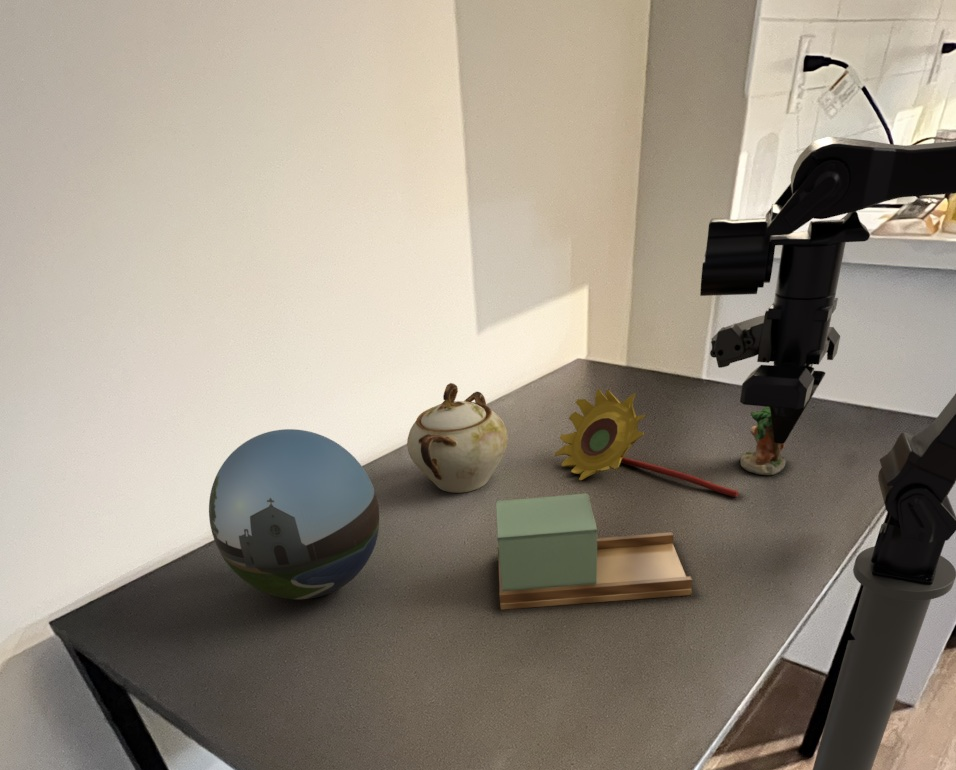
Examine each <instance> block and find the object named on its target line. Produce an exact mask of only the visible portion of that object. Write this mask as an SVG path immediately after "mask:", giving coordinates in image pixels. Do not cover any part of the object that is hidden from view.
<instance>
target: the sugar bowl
mask: <svg viewBox="0 0 956 770" xmlns="http://www.w3.org/2000/svg"><path fill="white" fill-rule="evenodd" d="M458 389H459V388H458V386H457V385H456V384H455V383H453V382H450V383H448V384H447V385H446V386H445V389H444V391H443V396H442V398H443V402H442V403H440V404H438V405H437V404H436V405H435V406H432V407H430V408H428V409H426V410H423V411H422V412H421V413H420V414H419V415H418V416H417V418H416V420H415V421H414V423H413V424H412V426H411V427H410V429H409V432H408V436H407V440H406V447H407V452H408V455H409V457H410V459H411V461H412V462H413V464H414V465H415V466H416V467H417V469H419V470H420V472H421V473H422V474H423V475H424V476H426V477H427V478H428V479H429V480H430V481H431V482H432V483H433V484H434V485H436V487H437V488H438V489H440V490H441V491H444V492H447V493H453V494H454V493H457V494H459V493H468V492H469V493H470V492H472V491H475V490H478V489H480V488H482V487H484V486H485V485H486V484H487V483H488V482H489V480H490V478H491V477H492V475H493V474H494V472H495V471H496V469H497V467H498V466H499V464H500V462H501V461H502V458H503V456H504V455H505V452H506V449H507V446H508V440H509V439H508V438H509V436H508V430H507V427H506V425H505V422H504V421H503V419H502V418H501V417H500V416H499V415H498V414H497V413H496V412H495V411H493V410H492V409H491V408H490V407H489V406H488V405H487V401H486V398H485V396H484V394H483V392H481V391H474V392H473V393H471V394H470V395H469V396H468V397H467V398H466V399H464V400H456V398H457V395H458V392H459V390H458ZM473 401H474V402H473Z"/></svg>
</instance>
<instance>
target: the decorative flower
mask: <svg viewBox="0 0 956 770" xmlns="http://www.w3.org/2000/svg"><path fill="white" fill-rule="evenodd" d="M636 395H637V393H635V392H634V393H633V394H631V395H630V396H628V397H627V398H626V399H625V400H623V401H619V399H618V398H617V397H616V396H615V395H614V394H613V393H612V392H611V391H610V390H609V389H607V390H605V394H603V392H602V390H600V389H597V390H595V396H594V405H593V403H591V402H590V401H588V400H587V399H586V398H578V399H576V401H575V404H576V405H577V406H578V407H579V409H580V412H581V413H582V414H580V413H578V412H577V411H574V412H572V413H571V414H570V415H569V417H568V420H570V422H571V423H572V425H573V426H574V428H575V431H574V432H571V433H567V434H563V433H562V434H560V435H559V439H560V440H561V441H562V442H563V443H565V445H563V446H562V447H561V448H559V449H558V450H556V451H555V452H554V457H557V456H563V455H565V456H567V457H566V458H565V459H564V460H563V461H562V463H561V464H560V465H561V467H573V468H572V469H571V471H570V472H571V473H572V474H574V475H575V474H577V475H580V477H579V478H578V481H583V480H585V479H586V478H588V477H590V476H592V475H594V474H598V473H600V472H604V471H607V470H609V469H613V470H617V469H618V468H619V467H620V465H621V463H622V464H624V465H628V466H631V467H636V468H639V469H643V470H647V471H651V472H654V473H658V474H661V475H665V476H668V477H672V478H675V479H678V480H682V481H685V482H688V483H691V484H695V485H698V486H700V487H702V488H705V489H708V490H710V491H713V492H715V493H719V494H722V495H725V496H729V497H732V498H737V497H739V494H740V493H739V491H738V490H735V489H732V488H729V487H725V486H722V485H718V484H716V483H713V482H711V481H708V480H705V479H703V478H700V477H697V476H694V475H691V474H688V473H684V472H681V471H677V470H673V469H671V468H666V467H663V466H659V465H657V464H656V465H655V464H651V463H648V462H645V461H641V460H637V459H632V458H629V457H625V455H626V454H627V453H628V451H629V450H630V449H631V447H632V446H633V445H634V444H635V443H636V442H637V441H638V440H639V439H641V438H642V437H644V434H645V431H639V430H638V427H639V422H640V421H642V419H644V418H645V417H646V416H647V414H641V415H640V414H639V415H637V414H636V410H635V408H634V406H633V405H634V399H635V398H636Z"/></svg>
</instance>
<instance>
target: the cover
mask: <svg viewBox="0 0 956 770" xmlns="http://www.w3.org/2000/svg"><path fill="white" fill-rule="evenodd" d="M495 510H496V512H495V513H496V533H497V536H496V537H497V550H498V549H499V561H500V572H501V584H502V591H511V590H524V589H536V588H549V587H561V586H574V585H586V584H597V538H598V528H597V523H596V520H595V516H594V511H593V508H592V505H591V500H590V495H589V493H588V492H587V493H577V494H575V493H574V494H563V495H552V496H541V497H529V498H518V499H506V500H497V501H495Z"/></svg>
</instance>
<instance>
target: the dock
mask: <svg viewBox="0 0 956 770" xmlns="http://www.w3.org/2000/svg"><path fill="white" fill-rule="evenodd" d="M497 560H498V582H499V592H498V593H499V594H498V596H499V603H500V604H499V606H500V611H502V610H503V611H504V610H515V609H517V610H518V609H528V608H541V607H542V608H543V607H554V606H555V607H556V606H567V605H579V604H592V603H593V604H594V603H604V602H607V603H608V602H618V601H620V602H621V601H630V600H631V601H632V600H643V599H655V598H669V597H670V598H671V597H682V596H684V597H685V596H691V595H692V586H693V585H692V584H693V579H692V576H691V575H686V572H685V570H684V568H683V565H682V562H681V560H680V558H679V555H678V553H677V551H676V548H675V546H674V533H673V532H671V531H669V532H656V533H646V534H645V533H644V534H634V535H631V534H630V535H620V536H608V537H597V584H586V585H574V586H561V587H549V588H536V589H524V590H511V591H502V584H501V572H500V561H499V549H498V548H497Z"/></svg>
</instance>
